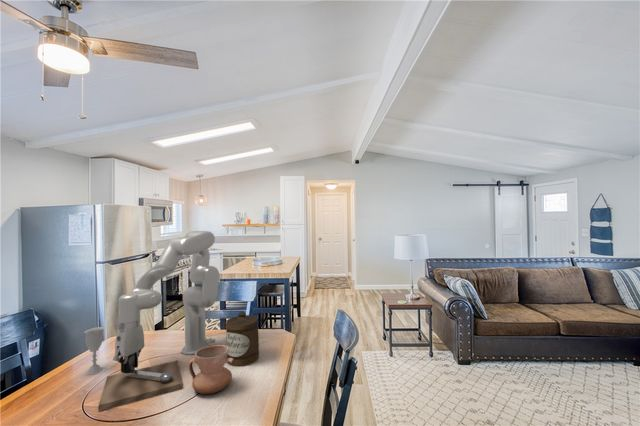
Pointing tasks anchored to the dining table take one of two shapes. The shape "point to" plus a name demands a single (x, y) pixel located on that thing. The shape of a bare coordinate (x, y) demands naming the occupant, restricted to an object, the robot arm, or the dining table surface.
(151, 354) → the dining table surface
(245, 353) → the wooden container
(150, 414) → the dining table surface
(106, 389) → the lever board
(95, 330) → the chalice
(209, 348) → the ceramic jug
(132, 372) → the lever
